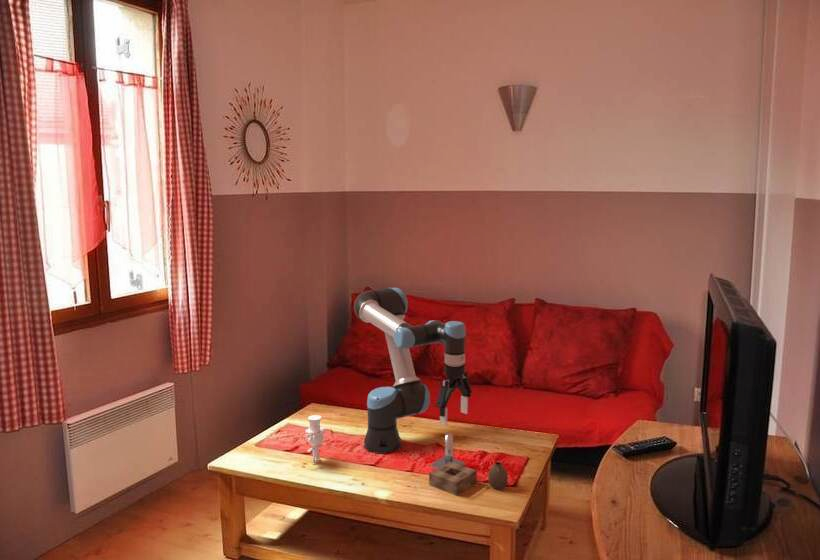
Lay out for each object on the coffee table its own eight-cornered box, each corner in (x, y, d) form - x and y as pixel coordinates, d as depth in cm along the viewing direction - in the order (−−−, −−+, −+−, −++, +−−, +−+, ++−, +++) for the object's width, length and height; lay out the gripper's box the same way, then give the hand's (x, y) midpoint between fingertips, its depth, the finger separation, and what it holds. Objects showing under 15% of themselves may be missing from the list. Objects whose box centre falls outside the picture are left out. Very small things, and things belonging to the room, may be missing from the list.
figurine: (314, 454, 257) (313, 411, 254) (331, 458, 254) (330, 414, 251) (300, 466, 247) (298, 421, 244) (317, 469, 244) (316, 423, 241)
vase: (486, 482, 232) (486, 459, 231) (505, 481, 233) (505, 458, 232) (490, 491, 226) (490, 468, 224) (509, 490, 226) (510, 467, 225)
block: (429, 486, 230) (429, 472, 229) (449, 474, 239) (449, 461, 238) (456, 496, 222) (456, 483, 222) (476, 483, 232) (476, 470, 231)
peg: (443, 465, 245) (443, 435, 243) (448, 462, 248) (448, 432, 246) (449, 467, 243) (449, 437, 241) (454, 464, 246) (454, 434, 244)
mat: (429, 465, 246) (429, 464, 246) (445, 456, 253) (445, 456, 253) (450, 473, 240) (450, 472, 239) (466, 464, 247) (466, 463, 247)
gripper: (443, 374, 227) (442, 431, 231) (481, 357, 246) (480, 410, 250) (426, 370, 231) (425, 426, 235) (465, 354, 251) (464, 406, 255)
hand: (454, 418), depth 243 cm, fingers open, 13 cm apart
